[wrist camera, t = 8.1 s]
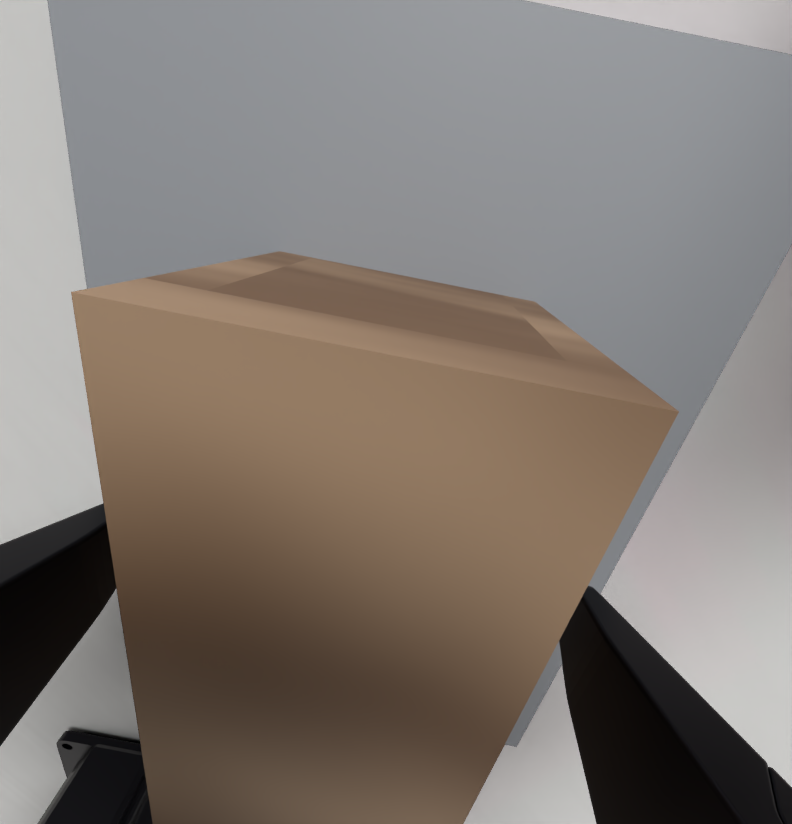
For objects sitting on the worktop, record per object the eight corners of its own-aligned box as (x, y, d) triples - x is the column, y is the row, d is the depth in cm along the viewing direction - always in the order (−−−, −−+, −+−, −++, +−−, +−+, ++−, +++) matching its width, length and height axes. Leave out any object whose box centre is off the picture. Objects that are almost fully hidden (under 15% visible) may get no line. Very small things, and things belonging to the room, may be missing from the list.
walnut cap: (426, 641, 13) (424, 896, 8) (259, 609, 13) (156, 845, 8) (535, 301, 9) (678, 412, 4) (280, 251, 9) (70, 292, 4)
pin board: (509, 703, 17) (539, 885, 12) (164, 637, 16) (62, 796, 12) (808, 98, 8) (1292, -60, 4) (101, -45, 8) (-332, -395, 3)
